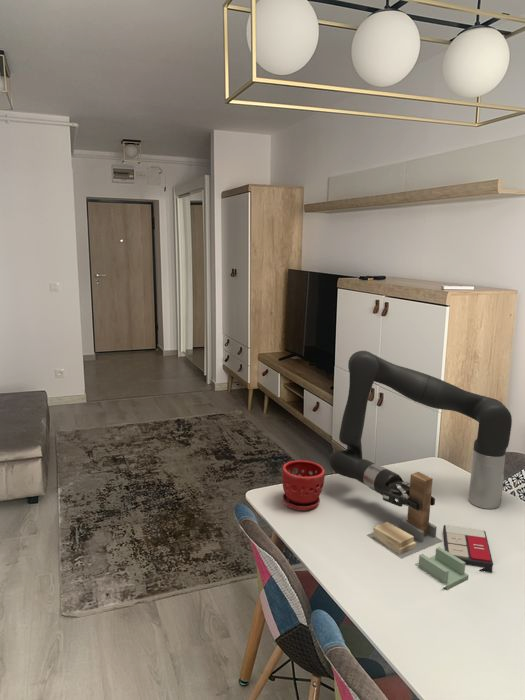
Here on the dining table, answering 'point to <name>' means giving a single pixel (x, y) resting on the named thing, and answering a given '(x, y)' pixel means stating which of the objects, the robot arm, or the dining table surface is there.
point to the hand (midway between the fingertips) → (427, 504)
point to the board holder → (444, 568)
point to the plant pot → (302, 484)
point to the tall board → (422, 494)
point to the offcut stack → (394, 538)
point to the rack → (418, 538)
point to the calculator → (468, 546)
